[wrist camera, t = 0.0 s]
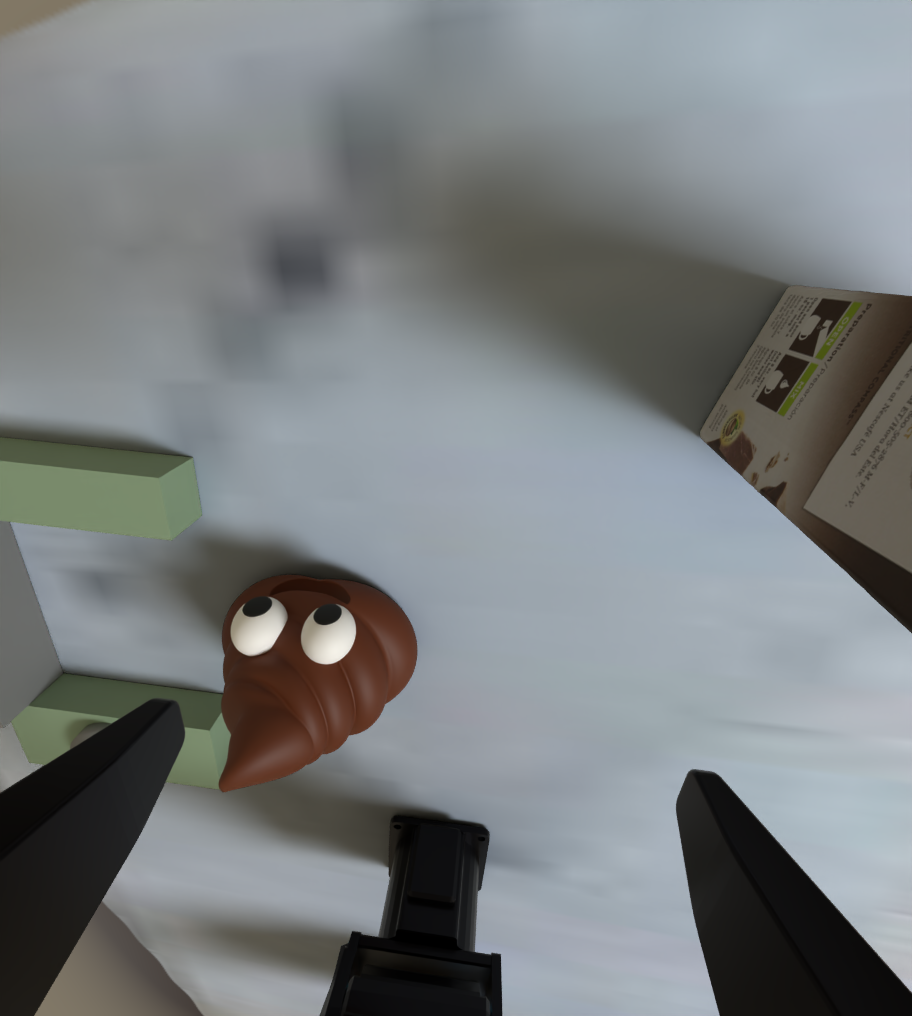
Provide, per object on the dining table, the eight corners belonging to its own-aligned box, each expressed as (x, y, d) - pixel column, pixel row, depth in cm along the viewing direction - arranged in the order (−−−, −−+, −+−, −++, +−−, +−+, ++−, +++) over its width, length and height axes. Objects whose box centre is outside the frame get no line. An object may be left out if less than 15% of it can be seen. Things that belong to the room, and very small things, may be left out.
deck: (241, 753, 32) (207, 814, 28) (61, 728, 33) (6, 785, 29) (192, 457, 23) (135, 492, 20) (-52, 431, 24) (-151, 461, 20)
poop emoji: (248, 675, 29) (142, 840, 21) (227, 548, 25) (88, 687, 17) (418, 695, 29) (380, 874, 20) (423, 568, 25) (379, 723, 16)
